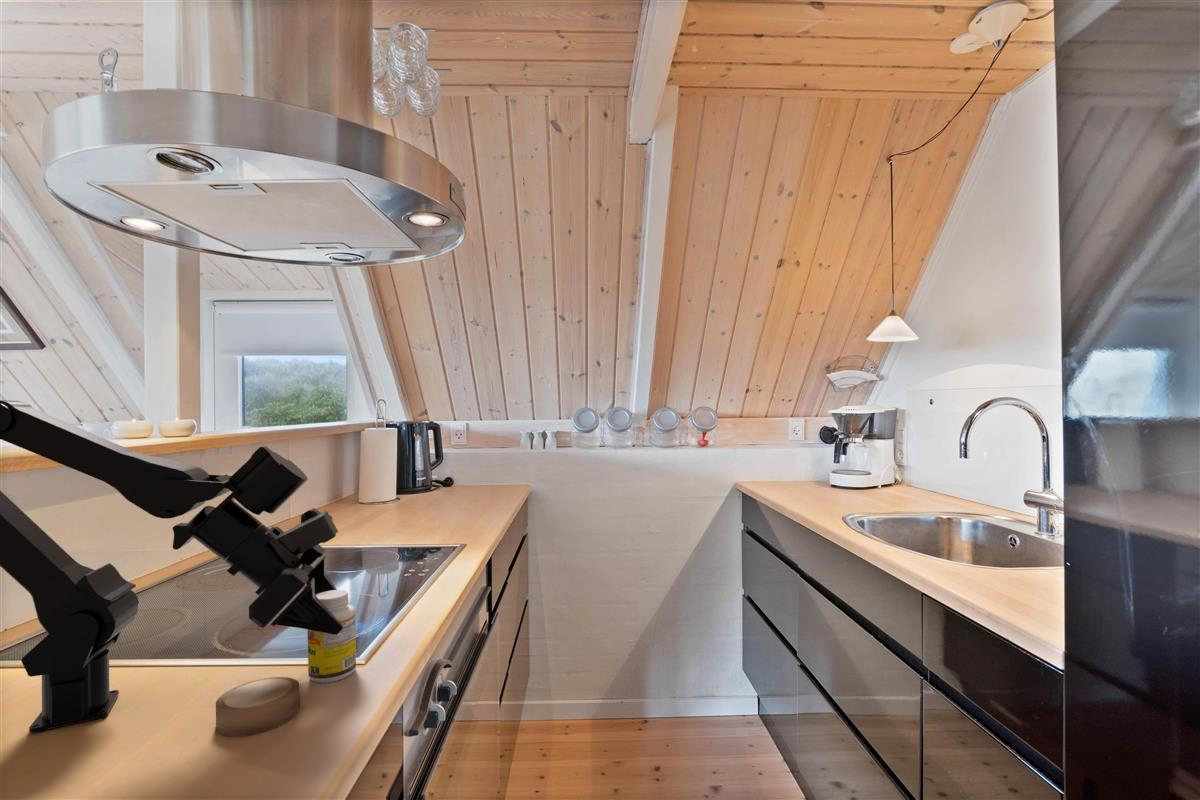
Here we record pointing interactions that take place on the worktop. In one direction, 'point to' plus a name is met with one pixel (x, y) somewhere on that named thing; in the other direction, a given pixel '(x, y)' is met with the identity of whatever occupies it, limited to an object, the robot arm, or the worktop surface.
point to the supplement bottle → (333, 641)
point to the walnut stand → (257, 706)
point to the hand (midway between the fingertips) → (343, 620)
